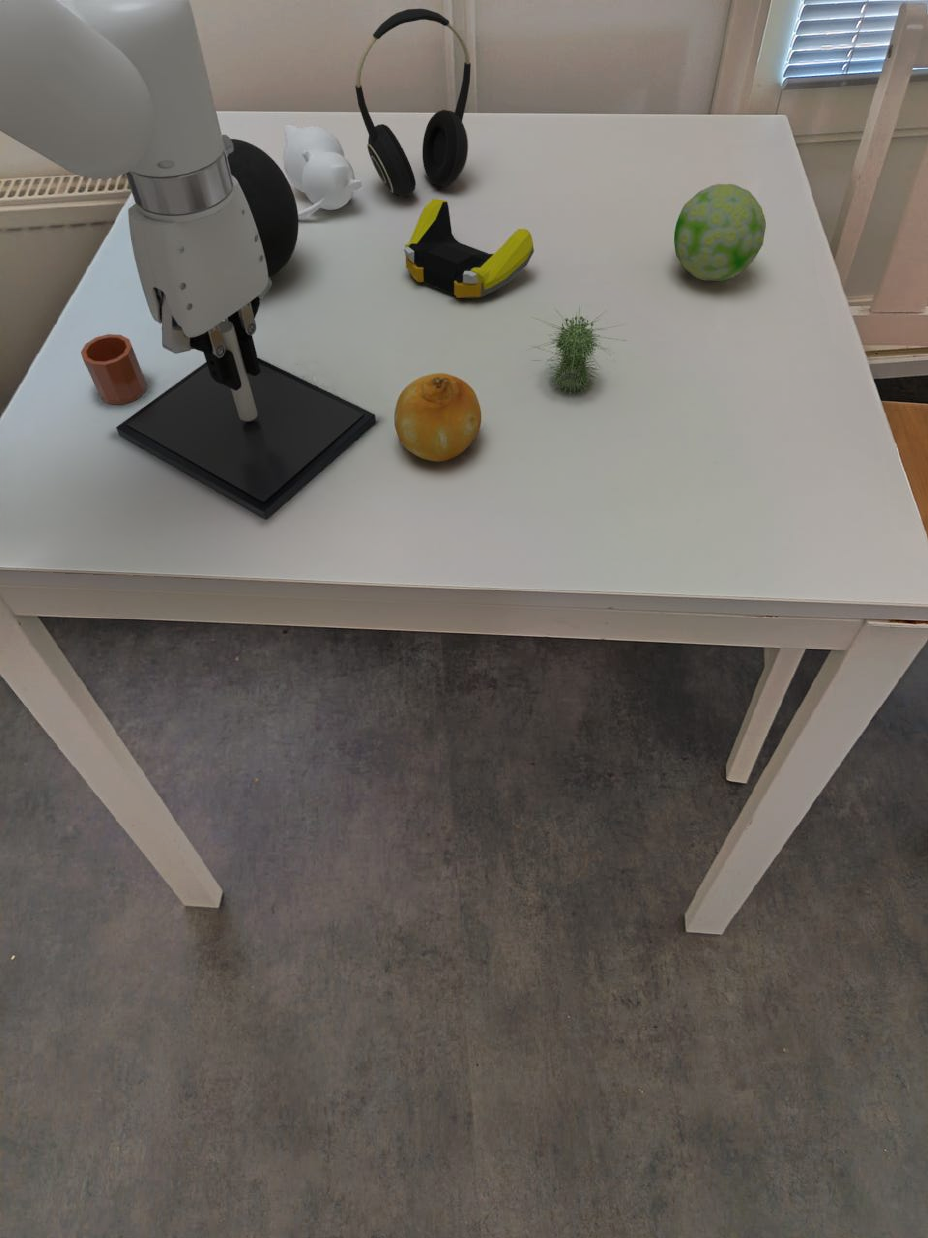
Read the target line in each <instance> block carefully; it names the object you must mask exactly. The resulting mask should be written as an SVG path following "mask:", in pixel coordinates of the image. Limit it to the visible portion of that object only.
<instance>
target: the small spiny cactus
mask: <svg viewBox="0 0 928 1238" xmlns="http://www.w3.org/2000/svg"><path fill="white" fill-rule="evenodd" d="M555 311H556V312H558V310H557V309H555ZM580 312H581V307H579V308H578V312H577V311H576V315H575V316H574V317H572V318H571V319H569V318H568V317H567V316H565V318H564V317H563V316H561V314H559V317H560V318H561V320H563V322H562V323H561V326H558V325H555V324H553V323H550V322H547V321H544V320H542V322H543V323H544V324H546V325H547V326H550V327H551V328H555V329H557V330H555V332H554V333H555V336H556V337H554V338H552V337H551V335H548V336H549V337H550V338H549V339H550V340H552V341H549V342H545V343H543V344H539V345H537V346H532V345H531V347H532V348H529V349H527V351H529V350H531V349H536V348H537V349H539V350H541V351H542V350H543V351H546V352H547V350H546V349H542V347H546V346H550V345H552V344H553V346H551V347H548V348H549V349H550V348H556V349H555V356H553V357H551V358H550V359H547V362H549V361H550V362H552V363H546V366H550V367H548V368H547V369H546V370H544V371H543V373H545V372H547V371H548V372H549V370H550V369H551V371H550V372H549V373H546V374H547V375H550V376H548V377H547V378H548V379H549V378H550V377H551V378H550V380H548V381H547V383H549V382H550V381H554V382H552V383H551V384H550V385H548V387H550V386H553V385H554V384H555V386H554V387H553V388H552V389H551V391H554V389H555V388H557V389H558V391H560V390H562V389H563V388H564V387H565V390H563V391H564V394H565V393H567V392H566V391H567V390H568V387H569V395H572V393H571V391H572V388H573V392H574V393H578V394H580V393H579V391H581V392H582V394H584V393H583V388H584V390H587V389H586V388H592V389H593V387H592V386H590V385H589V384H592V385H594V383H593V382H592V379H591V378H590V377H592V378H594V379H596V377H597V376H594V375H593V374H596V375H599V373H596V372H595V371H596V370H597V371H600V370H601V371H603V370H602V369H603V368H597V367H601V366H600V365H599V364H598V361H597V360H596V359H597V357H598V358H600V357H599V356H598V355H595V353H596V350H597V349H598V350H603V351H605V352H606V351H607V352H610V353H612V354H614V352H612V351H611V350H610V349H608V348H607V347H601V343H602V342H603V341H602V340H600V339H599V338H600V337H601V338H602V339H606V337H604V336H603V337H602V336H601V335H600V334H596V333H593V332H596V331H600V328H598V327H595V328H594V327H593V326H594V325H595V324H594V323H596V322H598V321H600V320H601V318H600V317H601V316H602V315H603V313H601V315H599V316H598V317H596V318H595V319H594V320H592V321H591V322H589V319H587V320H586V318H588V316H589V315H587V317H586V318H584V317H583V316H582V315H581V316H580V315H579V317H578V316H577V315H578V314H581V313H580ZM606 312H607V310H605V311H604V313H606ZM577 313H578V314H577ZM563 314H564V315H565V313H563ZM532 318H533V319H535V320H538V321H540V319H539V318H535V317H532V316H531V319H532ZM599 318H600V319H599ZM597 319H598V320H597ZM564 325H565V326H566V327H565V326H564ZM623 325H626V323H624V324H622V326H623ZM588 326H590V328H588ZM619 326H621V324H620V325H617V327H619ZM613 327H616V325H615V326H614V325H613V326H612V328H613ZM608 328H609V329H610V326H609V327H607V329H608ZM558 330H559V331H558ZM601 330H605V327H601ZM608 339H610V340H613V338H611V337H608ZM615 340H616V341H619V339H618V338H615ZM622 341H623V342H624V341H625V342H626V340H625V339H622ZM600 342H601V343H600ZM596 347H597V348H596ZM599 347H600V348H599ZM521 352H522V351H521ZM521 352H520V353H521ZM548 352H549V353H552V354H554V352H553V351H550V350H548ZM610 353H608V354H609V356H611V354H610ZM595 357H596V358H595ZM553 358H554V359H553ZM604 359H605V360H606V359H607V358H604ZM534 361H535V362H538V361H540V362H541V359H540V360H539V359H538V360H532V362H534ZM611 361H613V362H614V360H612V359H611ZM555 362H556V363H557V364H556V363H555ZM593 362H594V363H593ZM592 363H593V364H592ZM552 364H553V365H556V366H553V365H552ZM592 366H595V367H592ZM592 373H593V374H592ZM607 373H609V371H607ZM540 374H541V372H540V373H538V375H540ZM609 374H610V373H609ZM551 375H552V376H551ZM576 375H577V376H576ZM533 376H536V375H533ZM573 376H574V377H573ZM569 377H570V378H569ZM528 378H530V377H528ZM572 380H573V381H572ZM577 389H579V391H577Z"/></svg>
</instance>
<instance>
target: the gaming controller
mask: <svg viewBox="0 0 928 1238" xmlns="http://www.w3.org/2000/svg"><path fill="white" fill-rule="evenodd" d="M450 215H451V214H450V207H449V203H448V201H447V200H444V199H439V198H432V199H431V200H430V201H429V202H428V203H427V204H426V205H425V206H424V208H423V210H422V211H421V213H420V215H419V218H418V219H417V223H416V225H415V227H414V230H413V232H412V235H411V236H410V239H409V242H407V243H406V244H405V245H404V248H403V251H404V255H405V268H406V269H407V271H408V272H409V273H410V275H411V276H412V278H413V279H414V281H415V282H418V283H424V284H426V285H428V286H431V287H433V288H436V289H439V290H440V291H443V292H446V293H449V294H451V295H453V296H455V297H456V298H458V299H462V298H465V299H466V298H468V299H470V298H483V297H484V296H487V295H489V294H491V293H494V292H495V291H497V290H498V289H500V288H502V287H504V286H505V285H507V284H508V283H509V282H510V281H511V280H512V279H514V278H515V277H516V276H517V275H518V274H519V273H520V272H521V271H522V270H524V269H525V268H526V267H527V266H528V264H529V262H530V260H531V258H532V257H533V254H534V252H535V249H534V241H533V237H532V234H531V232H530V230H528V229H526V228H518V229H517V230H515V231H514V233H512V235H511V236H509V237H508V239H507V240H506V241H505V242H504V243H503V244H502V245H501V246H500V247H499V248H498V249H497V250H496V251H495V252H494V253H488V252H486V251H483V250H480V249H478V248H475V247H472V246H470V245H467V244H465V243H462V242H459V241H458V240H457V239H456V237H454V235H453V231H452V223H451V216H450Z"/></svg>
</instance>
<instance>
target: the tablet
mask: <svg viewBox="0 0 928 1238" xmlns="http://www.w3.org/2000/svg"><path fill="white" fill-rule="evenodd" d="M257 360H258V364H259V367H260V373H259V374H258V375H257V376H252V375H250V374H248V373H247V376H248V380H249V384H250V387H251V391H252V395H253V398H254V402H255V406H256V409H257V413H258V415H257V417H256V418H255V419H254V420H253V421H251V422H247V421H243V420H241V419H240V418H239V415H238V411H237V408H236V405H235V401H234V398H233V395H232V391H231V388H229V387H227V386H225V385H224V384H220V383H218V382H216V381H215V380H214V379H213V378H212V377H211V375H210V372H209V369H208V366H207V362H206V361H205V362H204V363H203V364H201V365H200V366H198V367H197V368H195V370H193V371H192V372H190V373H189V374H188V375H186V376H185V377H183V378H182V379H180V380H179V381H178V382H176V383H175V384H173V385H172V386H171V387H169V388H168V389H167V390H165V391H164V392H163V393H161V394H160V395H159V396H157V397H156V398H154V399H153V400H151V401H150V402H148V403H147V404H145V406H143V407H142V408H141V409H139V410H138V411H136V412H135V413H134V414H132V415H131V416H130V417H128V418H127V419H126V420H124V421H122V422H121V423H120V424H118V425H117V426H116V427H115V429H116V431H117V433H118V435H119V436H121V437H122V438H124V439H126V440H127V441H129V442H131V443H132V444H134V445H136V446H138V447H139V448H141V449H143V450H144V451H146V452H148V453H150V454H151V455H153V456H155V457H157V458H158V459H161V460H162V461H163V462H166V463H167V464H169V465H171V466H172V467H175V468H176V469H178V470H179V471H181V472H184V473H185V474H187V475H188V476H190V477H192V478H194V479H195V480H196V481H199V482H200V483H202V484H204V485H206V486H208V487H209V488H211V489H213V490H215V491H216V492H218V493H219V494H221V495H222V496H225V497H226V498H228V499H230V500H232V501H234V502H235V503H237V504H239V505H240V506H242V507H244V508H246V509H247V510H249V511H251V512H253V513H254V514H256V515H258V516H260V517H261V518H263V519H265V520H267V519H268V518H270V517H271V516H272V515H273V514H274V513H276V512H277V511H278V510H279V509H280V508H281V507H282V506H283V505H284V504H285V503H287V502H288V501H289V500H290V499H291V498H292V497H294V495H295V494H297V493H298V492H299V491H300V490H301V489H302V488H303V487H305V486H306V485H307V484H308V483H309V482H310V481H312V480H313V479H314V478H315V477H316V476H317V475H318V474H320V472H322V471H323V470H324V469H325V468H326V467H327V466H329V464H330V463H332V462H334V460H335V459H337V458H338V457H339V456H340V455H341V454H343V452H344V451H345V450H346V449H348V448H349V447H350V446H351V445H352V444H353V443H355V441H357V440H358V439H359V438H360V437H361V436H362V435H363V434H364V433H366V432H367V431H368V430H369V429H370V428H371V427H372V426H374V424H376V423H377V418H376V414H375V413H373V412H371V411H368V410H367V409H365V408H362V407H361V406H358V405H357V404H355V403H353V402H350V401H348V400H346V399H344V398H342V397H339V396H338V395H336V394H334V393H332V392H330V391H328V390H325V389H324V388H321V387H319V386H317V385H315V384H313V383H311V382H310V381H307V380H305V379H303V378H301V377H299V376H296V375H295V374H292V373H290V372H288V371H287V370H284V369H282V368H280V367H278V366H276V365H274V364H271V363H270V362H268V361H266V360H264V359H261V358H259V357H258V356H257Z"/></svg>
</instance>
